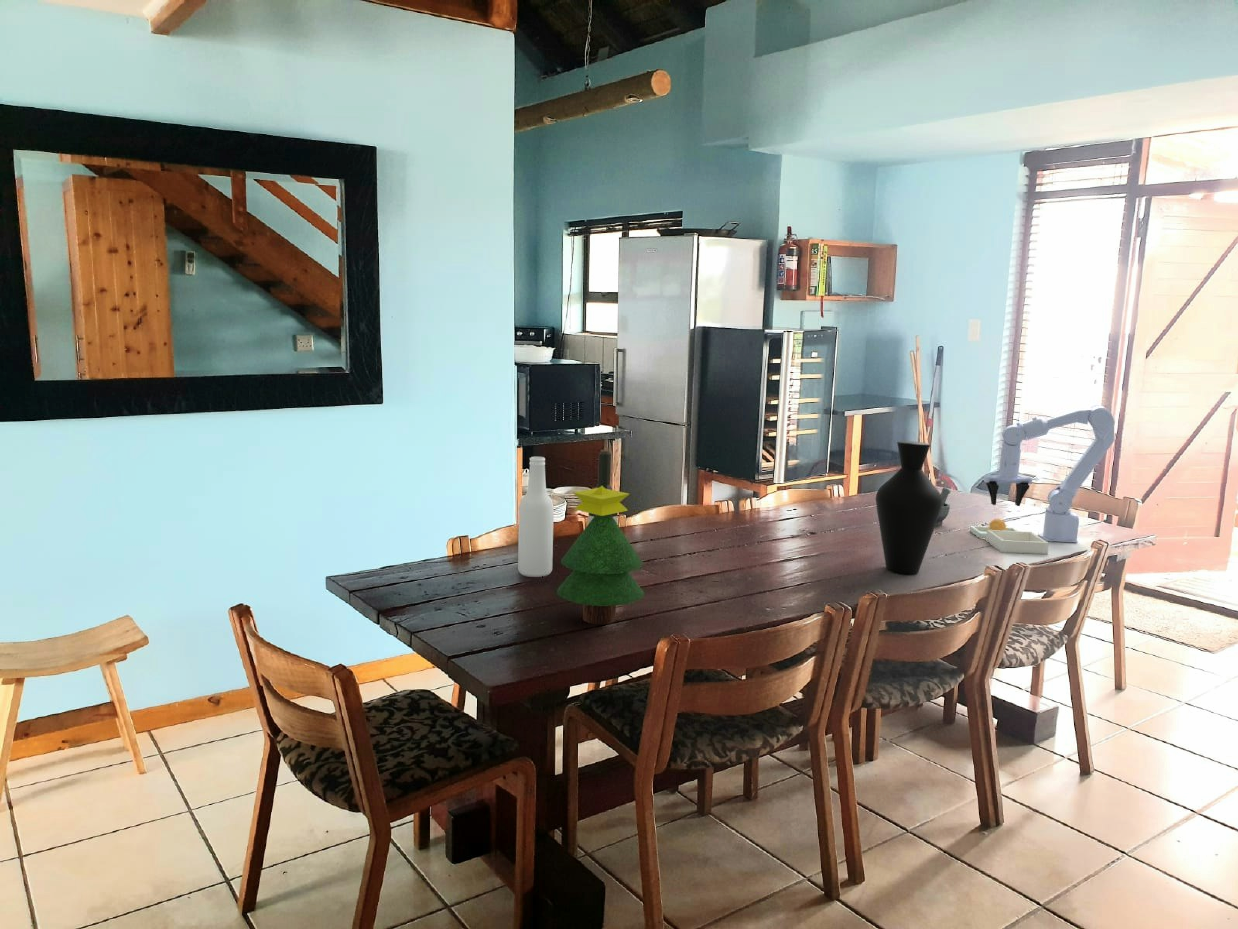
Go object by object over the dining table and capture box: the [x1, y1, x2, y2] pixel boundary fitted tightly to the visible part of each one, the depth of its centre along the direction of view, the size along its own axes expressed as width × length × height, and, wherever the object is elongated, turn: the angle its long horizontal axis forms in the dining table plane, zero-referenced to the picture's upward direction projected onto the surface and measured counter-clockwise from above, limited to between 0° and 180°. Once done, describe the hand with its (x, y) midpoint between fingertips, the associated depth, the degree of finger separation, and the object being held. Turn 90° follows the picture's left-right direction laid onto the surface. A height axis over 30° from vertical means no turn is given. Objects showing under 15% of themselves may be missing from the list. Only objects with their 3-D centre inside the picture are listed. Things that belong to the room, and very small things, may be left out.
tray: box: [969, 525, 1019, 540], centre depth 302 cm, size 14×10×2 cm
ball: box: [988, 518, 1007, 531], centre depth 301 cm, size 5×5×5 cm
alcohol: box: [517, 456, 555, 578], centre depth 241 cm, size 9×9×30 cm
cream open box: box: [985, 530, 1050, 555], centre depth 288 cm, size 14×14×4 cm
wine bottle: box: [587, 449, 619, 525], centre depth 256 cm, size 8×8×30 cm
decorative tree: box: [556, 486, 645, 625], centre depth 207 cm, size 19×19×30 cm
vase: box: [875, 440, 942, 576], centre depth 255 cm, size 17×17×35 cm
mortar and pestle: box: [935, 487, 951, 527], centre depth 315 cm, size 11×9×12 cm
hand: (1005, 505), depth 304 cm, fingers open, 7 cm apart
